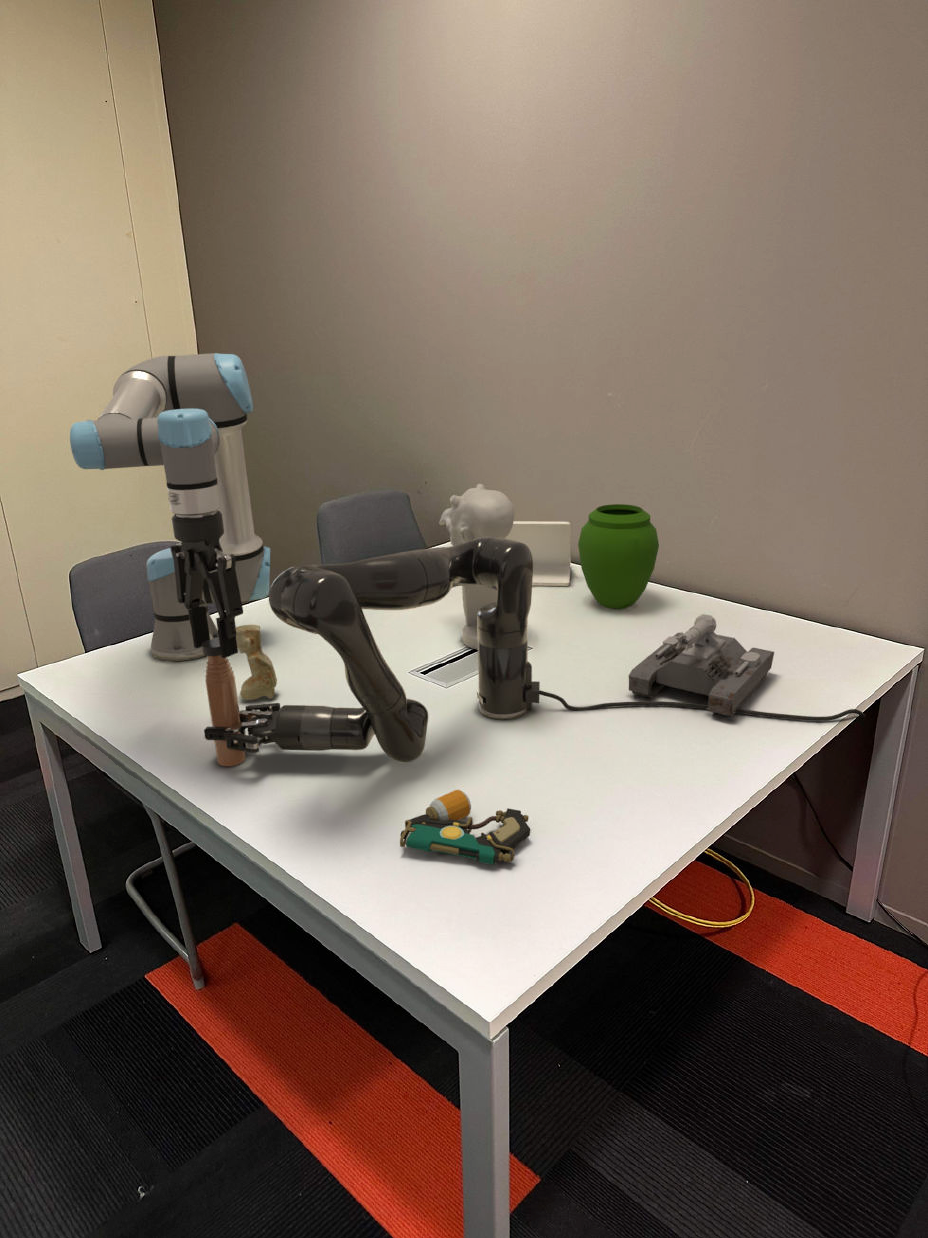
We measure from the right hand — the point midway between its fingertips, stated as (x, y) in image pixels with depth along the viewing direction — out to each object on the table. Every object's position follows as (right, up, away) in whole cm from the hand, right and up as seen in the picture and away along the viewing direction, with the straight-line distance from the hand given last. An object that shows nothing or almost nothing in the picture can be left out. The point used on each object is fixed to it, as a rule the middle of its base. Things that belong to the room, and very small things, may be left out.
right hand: (211, 725), depth 145 cm
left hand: (+2, +13, -5) cm, 14 cm away
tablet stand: (+60, +30, +94) cm, 115 cm away
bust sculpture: (+46, +14, +52) cm, 70 cm away
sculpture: (+2, +2, +25) cm, 25 cm away
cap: (+2, +14, -6) cm, 15 cm away
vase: (+81, +22, +69) cm, 109 cm away
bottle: (+3, -6, +2) cm, 7 cm away
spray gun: (+43, -14, -22) cm, 51 cm away
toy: (+90, +5, +24) cm, 93 cm away
